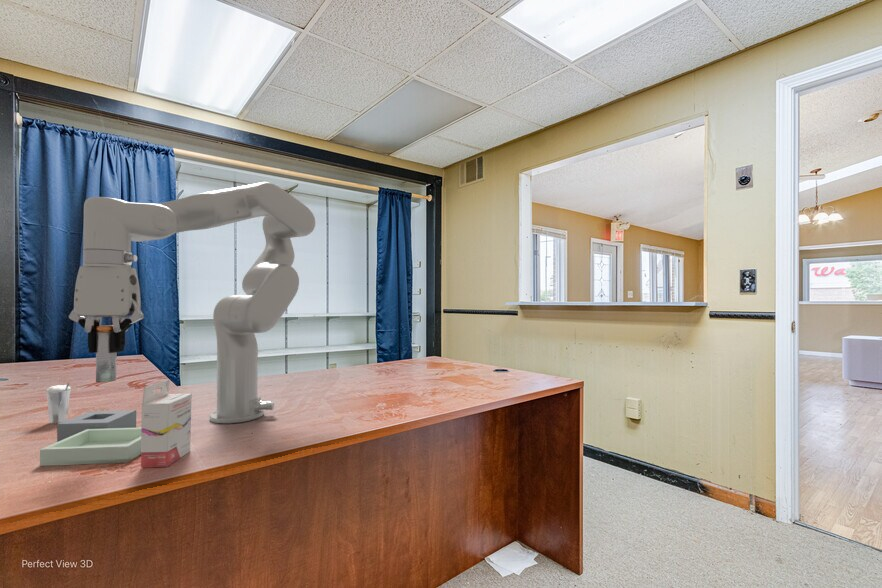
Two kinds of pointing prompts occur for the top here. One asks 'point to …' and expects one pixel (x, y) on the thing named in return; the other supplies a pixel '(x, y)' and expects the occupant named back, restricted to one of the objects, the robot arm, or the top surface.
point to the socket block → (96, 422)
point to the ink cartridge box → (164, 426)
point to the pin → (105, 355)
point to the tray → (94, 447)
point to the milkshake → (58, 403)
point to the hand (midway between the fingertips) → (106, 350)
